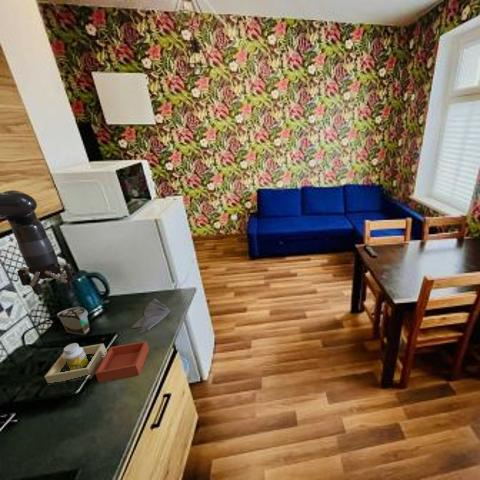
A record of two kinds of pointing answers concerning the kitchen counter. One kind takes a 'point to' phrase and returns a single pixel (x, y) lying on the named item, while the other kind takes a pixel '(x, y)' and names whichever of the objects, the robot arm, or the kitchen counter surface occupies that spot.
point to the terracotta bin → (122, 361)
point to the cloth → (152, 315)
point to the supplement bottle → (75, 356)
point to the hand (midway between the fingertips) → (55, 292)
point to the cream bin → (91, 368)
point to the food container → (75, 320)
